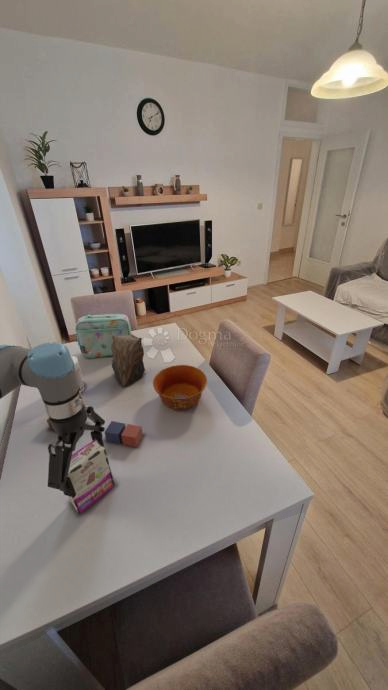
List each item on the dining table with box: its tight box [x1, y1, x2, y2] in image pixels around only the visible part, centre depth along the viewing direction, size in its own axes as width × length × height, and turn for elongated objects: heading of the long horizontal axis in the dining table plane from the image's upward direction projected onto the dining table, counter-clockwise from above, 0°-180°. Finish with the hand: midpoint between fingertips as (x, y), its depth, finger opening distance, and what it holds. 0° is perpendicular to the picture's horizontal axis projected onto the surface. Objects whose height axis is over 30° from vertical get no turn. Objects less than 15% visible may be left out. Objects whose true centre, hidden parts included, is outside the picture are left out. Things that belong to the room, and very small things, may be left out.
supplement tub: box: [71, 355, 85, 393], centre depth 113 cm, size 10×10×15 cm
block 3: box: [121, 423, 144, 448], centre depth 92 cm, size 5×5×5 cm
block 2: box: [104, 420, 127, 445], centre depth 94 cm, size 5×5×5 cm
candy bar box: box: [67, 439, 115, 515], centre depth 73 cm, size 11×5×16 cm, turn 137°
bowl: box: [152, 364, 208, 411], centre depth 109 cm, size 21×21×10 cm
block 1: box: [46, 418, 56, 432], centre depth 98 cm, size 5×5×5 cm
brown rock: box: [111, 333, 146, 388], centre depth 120 cm, size 13×13×20 cm
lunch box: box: [74, 313, 132, 359], centre depth 138 cm, size 27×10×21 cm, turn 102°
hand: (86, 470), depth 72 cm, fingers open, 13 cm apart
